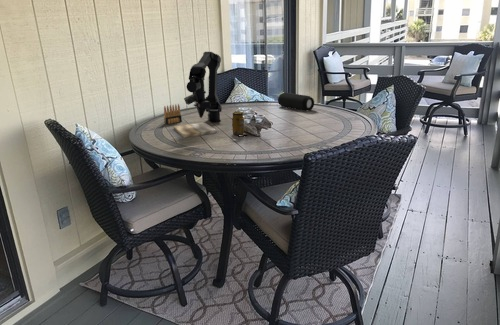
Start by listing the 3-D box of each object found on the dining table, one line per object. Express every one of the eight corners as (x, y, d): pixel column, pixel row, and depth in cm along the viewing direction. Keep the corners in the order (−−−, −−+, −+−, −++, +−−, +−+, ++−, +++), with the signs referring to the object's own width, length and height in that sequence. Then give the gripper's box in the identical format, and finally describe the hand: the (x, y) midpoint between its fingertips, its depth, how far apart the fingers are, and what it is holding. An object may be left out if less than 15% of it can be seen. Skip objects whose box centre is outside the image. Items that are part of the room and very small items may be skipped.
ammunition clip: (165, 126, 239) (163, 106, 235) (164, 125, 241) (162, 105, 237) (182, 123, 245) (180, 103, 241) (180, 122, 246) (179, 103, 242)
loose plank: (204, 124, 235) (204, 122, 235) (216, 132, 218) (216, 130, 218) (189, 126, 232) (189, 124, 231) (200, 134, 215) (200, 132, 214)
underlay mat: (206, 125, 237) (206, 124, 237) (220, 134, 219) (220, 132, 218) (168, 131, 228) (168, 129, 228) (179, 140, 209) (179, 138, 209)
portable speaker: (314, 110, 270) (315, 95, 266) (305, 112, 263) (305, 97, 260) (286, 105, 287) (286, 91, 284) (276, 107, 281) (276, 93, 278)
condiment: (241, 132, 222) (240, 110, 218) (248, 135, 215) (247, 113, 211) (229, 134, 219) (228, 112, 215) (235, 137, 212) (234, 115, 208)
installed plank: (189, 127, 232) (188, 124, 231) (200, 135, 215) (200, 132, 214) (173, 129, 228) (173, 126, 228) (184, 137, 211) (184, 134, 211)
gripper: (180, 88, 226) (182, 116, 231) (190, 93, 210) (192, 122, 215) (199, 86, 230) (200, 113, 235) (210, 91, 214) (212, 120, 219)
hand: (201, 117), depth 226 cm, fingers closed
